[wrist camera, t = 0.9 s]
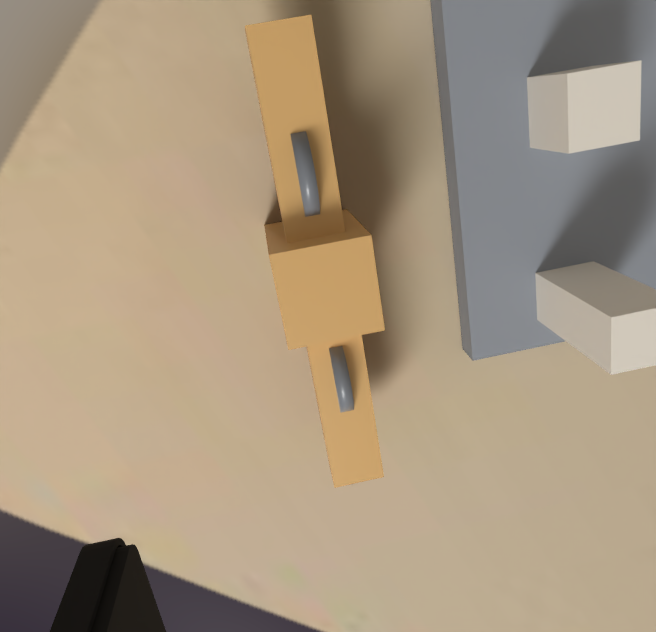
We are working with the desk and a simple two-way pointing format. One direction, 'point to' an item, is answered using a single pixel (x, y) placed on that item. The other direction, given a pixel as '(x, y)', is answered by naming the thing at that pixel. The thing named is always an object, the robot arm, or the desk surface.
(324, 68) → the desk surface
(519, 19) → the display stand
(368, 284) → the tan bar with handles
